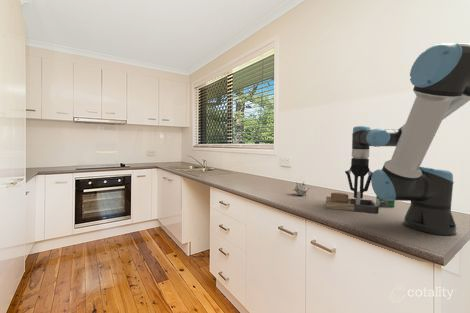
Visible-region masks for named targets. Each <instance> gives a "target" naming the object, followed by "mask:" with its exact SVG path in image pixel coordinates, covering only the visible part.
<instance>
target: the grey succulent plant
mask: <svg viewBox="0 0 470 313" xmlns="http://www.w3.org/2000/svg"><path fill="white" fill-rule="evenodd" d="M309 189H310V187H308V186H307V185H306V184H305V182H302V183H296V186H295V188H294V189H292V191H295V193H296V194H297V195H298V197H300V196H305V197H306V196H307V193H308V190H309Z"/></svg>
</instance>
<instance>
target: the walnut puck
mask: <svg viewBox="0 0 470 313" xmlns="http://www.w3.org/2000/svg"><path fill="white" fill-rule="evenodd" d="M330 197H331V202H336V203H346V204H348V198H349V194H348V193H345V192H344V193H343V192H331V193H330Z"/></svg>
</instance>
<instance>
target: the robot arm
mask: <svg viewBox="0 0 470 313" xmlns="http://www.w3.org/2000/svg"><path fill="white" fill-rule="evenodd" d="M409 77H410V78H409V81H410V83H411V85H413V86H414V87H413V89H412V91H413V93H414V94H415V95H416V96H415V99H414V101H413V104H412V106H411V109H410V110H409V114H408V117H407V119H406V120H405V123H404V124H403V125H402V126H401V127H399V128H398V129H382V128H374V129H371V127H370V126H369V125H360V126H358V125H357V126H354V127H353V128H352V133H351V136H352V137H351V142H352V143H351V162H350V167H349V169H348V170H345V171H344V173H345V175H346V176H347V181H348V185H349V189H350V191H352V192H353V199H356V204H357V205H360V199H363V196H364V193H365V192H368V190H369V187H370V185H371V187H372V188H371V189H373V192H374V194H375V195H376V196H378V197H379V198H380V199H382V200H390V201H395V202H396V201H400V202H401V201H402V202H403V201H405V202H406V201H408V202H410V204H409V205H410V206H409V207H408V210H407V211H406V213H405V216H404V218H403V224H404V225H406V226H407V227H408V228H411V229H414V230H416V231H419V232H423V233H427V234H428V233H429V234H433V235H440V236H453V235H455V234H457V225H456V222H455V220H454V215H453V214H452V199H453V189H454V183H455V182H454V175H453V172H451V171H450V170H447V169H439V168H431V167H424V166H421V165H422V163H423V161H424V159H425V156H426V155H427V152H428V150H429V148H430V147H431V145H432V142H433V140H434V138H435V137H436V134H437V132H438V130H439V128H440V127H441V126H440V125H441V123H442V122H443V120H445V119H447V118H448V117H449V116H451V115H452V114H453V113H455V112H456V111H457V110H459V109H460V108H461V107H464V105H466V104H467V103H469V101H470V43H463V42H462V43H457V42H448V43H439V44H434V45H431V46H430V47H428V48H426V49H425V50H424V51H423V52H422V53H420V54H419V55H418V56H417V58H416V59H415V60H414V62H413V64H412V65H411V69H410V72H409ZM370 147H376V148H379V147H395V148H394V151H393V154H392V156H391V159H389V160H386V161H385V162H384V164H383V166H382V168H381V169H375V170H374V171H371V169H370V166H369V163H370V159H369V157H370ZM351 173H352V175H353V177H354V178H353V179H354V183H353V182H352V176H351ZM367 174H368V176H367V179H366V182H364V181H365V177H366V175H367ZM359 179H360V180H359ZM358 183H359V190H358ZM364 184H365V185H364Z"/></svg>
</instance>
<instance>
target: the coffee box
mask: <svg viewBox="0 0 470 313" xmlns="http://www.w3.org/2000/svg"><path fill="white" fill-rule="evenodd" d="M395 203H396V201H390V200H382V199H380V198H379V197H378V196H377V195H376V202H375V204H376V205H377V206H378V207H379V208H395V205H396V204H395Z"/></svg>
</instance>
